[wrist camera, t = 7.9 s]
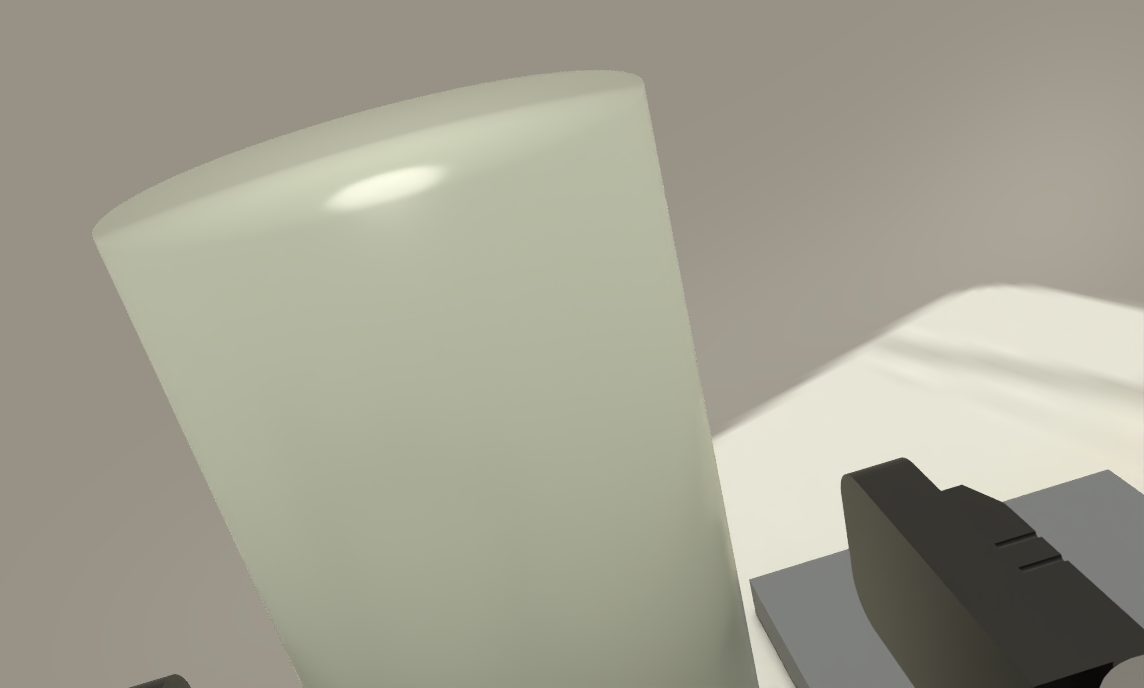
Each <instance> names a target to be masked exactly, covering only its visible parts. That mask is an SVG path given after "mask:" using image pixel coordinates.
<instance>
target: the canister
mask: <svg viewBox="0 0 1144 688" xmlns="http://www.w3.org/2000/svg"><path fill="white" fill-rule="evenodd" d="M93 239H94V241H95V243H96V246H97V248H98V250H99V252H100V254H101V256H102V258H103V261H104V263H105V265H106V267H107V269H108V271H109V274H110V276H111V278H112V280H113V282H114V284H115V286H116V289H117V291H118V293H119V295H120V297H121V299H122V301H123V304H124V306H125V308H126V310H127V312H128V314H129V316H130V319H131V321H132V323H133V325H134V327H135V329H136V331H137V334H138V336H139V338H140V340H141V342H142V344H143V346H144V349H145V350H146V353H147V355H148V357H149V359H150V361H151V363H152V366H153V368H154V370H155V372H156V374H157V376H158V379H159V381H160V383H161V385H162V387H163V389H164V391H165V394H166V396H167V398H168V400H169V402H170V404H171V406H172V409H173V411H174V413H175V415H176V417H177V419H178V421H179V423H180V426H181V428H182V430H183V432H184V434H185V436H186V438H187V441H188V443H189V445H190V447H191V449H192V452H193V454H194V456H195V458H196V460H197V462H198V464H199V466H200V469H201V471H202V473H203V475H204V477H205V479H206V482H207V484H208V486H209V488H210V490H211V492H212V494H213V497H214V499H215V501H216V503H217V505H218V507H219V509H220V512H221V514H222V516H223V518H224V520H225V522H226V524H227V527H228V529H229V531H230V533H231V535H232V537H233V539H234V542H235V544H236V546H237V548H238V550H239V552H240V554H241V557H242V559H243V561H244V563H245V565H246V567H247V569H248V572H249V574H250V576H251V578H252V580H253V582H254V585H255V586H256V588H257V591H258V593H259V595H260V597H261V599H262V601H263V604H264V606H265V608H266V610H267V612H268V615H269V617H270V619H271V621H272V623H273V625H274V627H275V630H276V632H277V634H278V636H279V638H280V640H281V642H282V645H283V647H284V649H285V651H286V653H287V655H288V657H289V660H290V662H291V664H292V666H293V668H294V670H295V672H296V675H297V677H298V679H299V681H300V683H301V685H302V687H303V688H759V685H758V680H757V674H756V669H755V664H754V659H753V653H752V648H751V643H750V638H749V632H748V627H747V622H746V617H745V612H744V606H743V601H742V596H741V591H740V585H739V580H738V575H737V570H736V564H735V559H734V554H733V549H732V543H731V538H730V533H729V528H728V522H727V517H726V512H725V507H724V501H723V496H722V491H721V486H720V480H719V475H718V470H717V465H716V459H715V454H714V449H713V444H712V439H711V433H710V428H709V423H708V418H707V412H706V408H705V402H704V397H703V391H702V386H701V381H700V376H699V371H698V365H697V360H696V355H695V349H694V345H693V339H692V334H691V329H690V323H689V318H688V313H687V307H686V302H685V297H684V292H683V287H682V281H681V276H680V271H679V266H678V261H677V255H676V250H675V245H674V239H673V234H672V229H671V224H670V219H669V213H668V208H667V203H666V198H665V192H664V187H663V182H662V177H661V171H660V166H659V161H658V156H657V150H656V146H655V140H654V135H653V129H652V124H651V119H650V114H649V108H648V103H647V98H646V93H645V88H644V82H643V80H642V79H641V78H640V77H638V76H637V75H634V74H631V73H627V72H620V71H612V70H581V71H569V72H568V71H567V72H557V73H548V74H539V75H532V76H525V77H518V78H512V79H506V80H500V81H494V82H488V83H483V84H478V85H473V86H468V87H463V88H458V89H453V90H449V91H444V92H439V93H435V94H431V95H427V96H422V97H418V98H413V99H409V100H405V101H401V102H397V103H393V104H390V105H386V106H382V107H378V108H375V109H371V110H367V111H363V112H359V113H356V114H352V115H349V116H345V117H342V118H338V119H335V120H331V121H328V122H324V123H321V124H318V125H315V126H311V127H308V128H305V129H302V130H299V131H295V132H292V133H289V134H286V135H283V136H280V137H277V138H274V139H271V140H268V141H265V142H262V143H259V144H256V145H254V146H251V147H248V148H245V149H243V150H240V151H237V152H234V153H231V154H229V155H226V156H224V157H221V158H218V159H216V160H213V161H211V162H208V163H206V164H203V165H200V166H198V167H196V168H193V169H191V170H189V171H186V172H184V173H182V174H179V175H177V176H175V177H173V178H170V179H168V180H166V181H164V182H162V183H160V184H158V185H156V186H153V187H151V188H149V189H148V190H146V191H144V192H142V193H140V194H138V195H136V196H134V197H132V198H131V199H129V200H127V201H126V202H124V203H122V204H121V205H119V206H118V207H116V208H115V209H113V210H112V211H111V212H109V213H108V214H107V215H106V216H104V217H103V218H102V219H101V220H100V221H99V222H98V223H97V224H96V226H95V228H94V229H93Z"/></svg>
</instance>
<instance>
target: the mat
mask: <svg viewBox="0 0 1144 688" xmlns="http://www.w3.org/2000/svg"><path fill="white" fill-rule="evenodd" d="M1003 503H1005V504H1006V505H1007V506H1008V507H1009V508H1011V509H1012V510H1013V511H1014V512H1015V513H1016V514H1017V515H1018V516H1019V517H1021V518H1022V519H1023V520H1024V521H1025V522H1026V523H1027V524H1028V525H1029V526H1031V527H1032V528H1033V529H1034V530H1035V531H1036V535H1037V536H1038V538H1039V537H1043V538H1044V539H1045V540H1046V541H1047V542H1048V543H1049V544H1050V545H1052V546H1053V547H1054V548H1055V549H1056V550H1057V551H1058V552H1059V553H1060V554H1061V556H1062V558H1063V560H1064V561H1067V560H1068V561H1069V562H1070V563H1071V564H1073V565H1074V566H1075V567H1076V568H1077V569H1078V570H1079V571H1080V572H1081V573H1083V574H1084V575H1085V576H1086V577H1087V578H1088V579H1089V580H1090V581H1091V582H1093V583H1094V584H1095V585H1096V586H1097V587H1098V588H1099V589H1100V590H1101V591H1102V592H1104V593H1105V594H1106V595H1107V596H1108V597H1109V598H1110V599H1111V600H1112V601H1114V602H1115V603H1116V604H1117V605H1118V606H1119V607H1120V608H1121V609H1122V610H1124V611H1125V612H1126V613H1127V614H1128V615H1129V616H1130V617H1131V618H1132V619H1134V620H1135V621H1136V622H1137V623H1138V624H1139V625H1140V626H1141V627H1142V628H1143V629H1144V495H1143V494H1142V493H1141V492H1139V491H1138V490H1136V489H1135V488H1134V487H1132V486H1131V485H1129V484H1128V483H1127V482H1125V481H1124V480H1122V479H1121V478H1120V477H1118V476H1117V475H1115V474H1114V473H1113V472H1111V471H1110V470H1105V471H1101V472H1098V473H1095V474H1092V475H1088V476H1085V477H1082V478H1079V479H1075V480H1072V481H1069V482H1066V483H1062V484H1059V485H1056V486H1053V487H1049V488H1046V489H1043V490H1040V491H1036V492H1033V493H1030V494H1027V495H1023V496H1020V497H1017V498H1014V499H1010V500H1007V501H1004V502H1003ZM749 581H750V586H751V591H752V596H753V601H754V606H755V611H756V614H757V616H758V618H759V620H760V621H761V623H762V625H763V627H764V629H765V631H766V633H767V634H768V636H769V638H770V640H771V642H772V644H773V646H774V647H775V649H776V651H777V653H778V655H779V657H780V659H781V660H782V662H783V664H784V666H785V668H786V670H787V672H788V673H789V675H790V677H791V679H792V681H793V683H794V685H795V686H796V688H915V687H914V686H913V684H912V683H911V682H910V680H909V679H908V677H907V676H906V674H905V673H904V672H903V670H902V669H901V667H900V666H899V664H898V663H897V662H896V660H895V659H894V657H893V656H892V654H891V653H890V652H889V650H888V649H887V647H886V646H885V644H884V643H883V641H882V640H881V639H880V637H879V636H878V634H877V633H876V631H875V630H874V628H873V627H872V625H871V623H870V622H869V620H868V618H867V616H866V614H865V612H864V609H863V607H862V605H861V602H860V600H859V597H858V594H857V591H856V587H855V583H854V579H853V573H852V566H851V559H850V552H849V549H847V550H844V551H841V552H838V553H834V554H831V555H828V556H825V557H821V558H818V559H815V560H812V561H808V562H805V563H802V564H799V565H795V566H792V567H789V568H786V569H782V570H779V571H776V572H773V573H769V574H766V575H763V576H760V577H756V578H753V579H750V580H749Z"/></svg>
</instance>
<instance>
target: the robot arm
mask: <svg viewBox="0 0 1144 688" xmlns="http://www.w3.org/2000/svg"><path fill="white" fill-rule="evenodd" d="M841 495H842V502H843V509H844V516H845V523H846V531H847V538H848V545H849V552H850V559H851V566H852V573H853V579H854V583H855V587H856V591H857V594H858V597H859V600H860V602H861V605H862V607H863V609H864V612H865V614H866V616H867V618H868V620H869V622H870V623H871V625H872V627H873V628H874V630H875V631H876V633H877V634H878V636H879V637H880V639H881V640H882V641H883V643H884V644H885V646H886V647H887V649H888V650H889V652H890V653H891V654H892V656H893V657H894V659H895V660H896V662H897V663H898V664H899V666H900V667H901V669H902V670H903V672H904V673H905V674H906V676H907V677H908V679H909V680H910V682H911V683H912V684H913V686H914V687H915V688H1144V629H1143V628H1142V627H1141V626H1140V625H1139V624H1138V623H1137V622H1136V621H1135V620H1134V619H1132V618H1131V617H1130V616H1129V615H1128V614H1127V613H1126V612H1125V611H1124V610H1122V609H1121V608H1120V607H1119V606H1118V605H1117V604H1116V603H1115V602H1114V601H1112V600H1111V599H1110V598H1109V597H1108V596H1107V595H1106V594H1105V593H1104V592H1102V591H1101V590H1100V589H1099V588H1098V587H1097V586H1096V585H1095V584H1094V583H1093V582H1091V581H1090V580H1089V579H1088V578H1087V577H1086V576H1085V575H1084V574H1083V573H1081V572H1080V571H1079V570H1078V569H1077V568H1076V567H1075V566H1074V565H1073V564H1071V563H1070V562H1069V561H1068V560H1067V561H1064V560H1063V558H1062V556H1061V554H1060V553H1059V552H1058V551H1057V550H1056V549H1055V548H1054V547H1053V546H1052V545H1050V544H1049V543H1048V542H1047V541H1046V540H1045V539H1044V538H1043V537H1039V538H1038V536H1037V535H1036V531H1035V530H1034V529H1033V528H1032V527H1031V526H1029V525H1028V524H1027V523H1026V522H1025V521H1024V520H1023V519H1022V518H1021V517H1019V516H1018V515H1017V514H1016V513H1015V512H1014V511H1013V510H1012V509H1011V508H1009V507H1008V506H1007V505H1006V504H1005V503H1003V502H1001V501H998V500H996V499H994V498H991V497H989V496H987V495H984V494H982V493H980V492H978V491H975V490H973V489H971V488H968V487H966V486H964V485H960V486H956V487H953V488H950V489H946V490H943V491H940V490H939V489H938V488H937V487H936V486H935V485H934V484H933V483H932V482H931V481H930V480H929V479H928V478H927V477H926V476H925V475H924V474H923V473H922V472H921V471H920V470H919V469H918V468H917V467H916V466H915V465H914V464H913V463H912V462H911V461H910V460H908V459H906V458H903V457H902V458H899V459H895V460H892V461H889V462H885V463H882V464H879V465H875V466H872V467H869V468H865V469H862V470H859V471H855V472H852V473H849V474H845V475H844V476H843V477H842V479H841ZM130 688H191V687H190V685H189V684H188V682H187V681H186V680H185V679H184V678H183V677H181V676H179V675H176V674H174V675H170V676H167V677H163V678H160V679H157V680H153V681H150V682H147V683H143V684H140V685H137V686H134V687H130Z"/></svg>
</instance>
